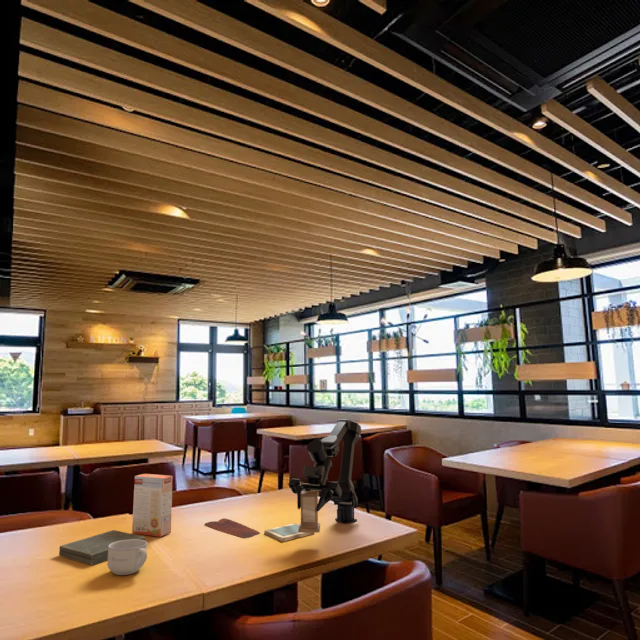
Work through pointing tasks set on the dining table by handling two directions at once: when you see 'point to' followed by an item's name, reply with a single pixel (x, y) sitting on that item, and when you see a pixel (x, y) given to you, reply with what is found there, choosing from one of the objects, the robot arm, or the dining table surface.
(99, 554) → the case
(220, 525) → the wooden tablet
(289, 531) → the teal framed panel
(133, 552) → the teacup
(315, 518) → the stepped wooden pillar
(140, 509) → the cracker box
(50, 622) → the dining table surface
